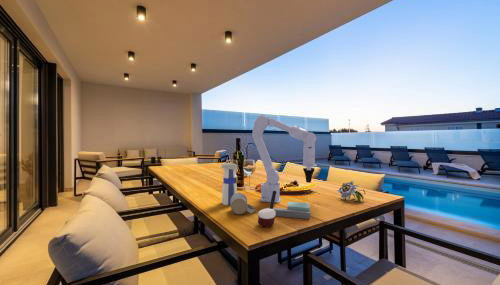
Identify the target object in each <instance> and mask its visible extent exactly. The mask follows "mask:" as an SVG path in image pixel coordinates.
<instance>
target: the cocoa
mask: <svg viewBox="0 0 500 285" xmlns="http://www.w3.org/2000/svg"><path fill="white" fill-rule="evenodd" d="M275 196H276V191H273V193H272V198H271V202H269V206H268V208H263V209H261V210H259V211H258V213H257V216H258V217H257V219H258V221H257V224H258V225H259V226H261V227H263V228H270V227H272V226H273V225H274V223H275V221H276V216H275V215H276V213H275V210H274V209H273V208H274V205H275V202H274V201H275Z"/></svg>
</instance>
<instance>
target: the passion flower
mask: <svg viewBox="0 0 500 285" xmlns="http://www.w3.org/2000/svg"><path fill="white" fill-rule="evenodd" d="M357 188H359V184H355V185H354V180H351V181H349V182H343V183H342V184H341V186H340V187H339V189H338V190H336V192H337V193H340V198H342V200H343V201H345V200H346V199H347V200H350V199H351V196H353V197H354V199H357V202H359V203H361V200H364V195H366V191H365V189H360V190H358V189H357ZM360 191H363V193H364V195H363V194H362V193H361V192H360Z"/></svg>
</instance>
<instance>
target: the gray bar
mask: <svg viewBox="0 0 500 285" xmlns="http://www.w3.org/2000/svg"><path fill="white" fill-rule="evenodd" d="M273 209H274V210H275V213H276V215H275V217H281V218H282V217H284V218H294V219H303V220H304V219H306V220H311V211H310V210H309V211H304V210H293V209H287V208H282V207H280V208H279V207H273Z"/></svg>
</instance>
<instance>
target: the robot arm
mask: <svg viewBox="0 0 500 285" xmlns="http://www.w3.org/2000/svg"><path fill="white" fill-rule="evenodd" d="M267 127H269V128H276V129H277V128H278V129H279V130H282V131H284V132H287V133H288V134H289V136H290V137H292V138H294V139H295V140H299V141H303V150H302V151H303V153H302V154H303V155H302V160H303V161H302V166H303V167H302V171H303V172H304V176H305V181H306V183H312V179H313V175H314V172H315V167H317V166H318V165H317V164H316V163H315V162H316V157H315V156H316V146H315V145H316V141H317V136H316V134H315V133H314V132H309V130H308V129H303V128H301V127H300V125H292V126H290V125H288V124H286V123H285V122H281V121H279V120H278V119H275V118H272V117H269V116H268V117H267V116H266V115H263V114H262V115H259V116H258V117H256V119H255V121H254V123H253V127H252V133H251V136H252V139H253V142H254V144H255V147H256V149H257V152H258V154H259V157H260V159H261V162H262V164H263V167H264V171H265V173H266V180H265V182H262V183H261V187H260V202H265V203H271V198H272V193H273V191H276V196H275V201H274V203H277V204H279V203H280V202H281V200H282V197H280V193H281V191H280V187H281V186H280V185H281V184H280V175H279V171H278V170H277V169H276V168H275V166H274V163H273V161H272V160H271V157H270V154H269V152H268V149H267V146H266V144H265V141H264V138H263V137H262V136H263V134H264V131H265V130H266V129H267Z"/></svg>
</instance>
